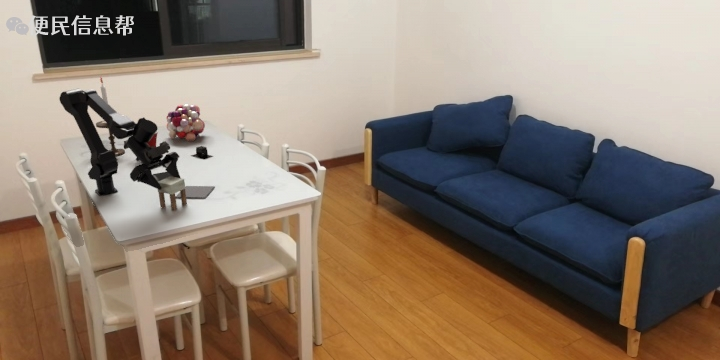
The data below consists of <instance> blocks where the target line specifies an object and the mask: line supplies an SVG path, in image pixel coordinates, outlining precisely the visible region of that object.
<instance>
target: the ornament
mask: <svg viewBox="0 0 720 360" xmlns="http://www.w3.org/2000/svg"><path fill="white" fill-rule="evenodd" d="M200 111H201V110H200V107H199V106H198V105H196V104H192V105H190V104H189V103H186V104H184V105H183V104H179V105H177V106H176V108H175V110H174V111H169V112H168V113H167V116H166V122H167V124H166V129H167V130H168V131H169V133H168V136H169V138H171V139H176V138H180V139H184V138H185V140H186V141H187V142H189V143H190V142H194V141H195V140H196V138H198V137H199V135H200V134H202V133H203V132H204V130H205V126H206V123H205V122H204V120H202V118H200V115H201V113H200Z"/></svg>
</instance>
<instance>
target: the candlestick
mask: <svg viewBox="0 0 720 360" xmlns="http://www.w3.org/2000/svg"><path fill="white" fill-rule="evenodd" d="M99 80H100V82H101V86H100V92H101V98H102V99H103V100H104V101H105V102H106V103H107V104H109V101H108V96H107V89H106V86H105V85H104V81H103V78H102V76H100V79H99ZM95 128H99V129H108V133H109V134H108V135H109V136H107V137H108V141H110V142H109V144H110V145H111V148H110V149H108V150H109V151H111V150H112V151H113V152H114V154H115V156H116V157H119V156H122V155H124V154H125V153H126V151H125V150H126V149H124V148H116V145H115V144H116V141H115V140H116V137H115V136H114V135H113V134H112V132H111V131H110V130H109V125H108V124H107V122H106V121H105V120H100V121H98V122H96V123H95Z"/></svg>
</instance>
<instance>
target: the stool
mask: <svg viewBox="0 0 720 360" xmlns="http://www.w3.org/2000/svg"><path fill="white" fill-rule="evenodd" d="M158 183H159V184H160V186H161V187H162V189H161V190H159V189H157V192H158V197H159V203H160V208H161V207H162V208H161V209H165V208H166V207H167V205H166V204H167V203H166V198H165V194H168V195H169V200H170V207H171V211H174V210H175V211H176V209H178V207H177V198H176V193H177V194H178V192H179V193H180V194H181V198H180V200H181V206H187V205H188V202H187V201H188V200H187V198H186V193H185V187H186V183H185V179H184V178H182V177H180V178H176V177H171V176H170V177H167V178H165V179H163V180H161V181H158ZM186 204H187V205H186ZM164 207H165V208H164Z"/></svg>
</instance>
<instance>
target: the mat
mask: <svg viewBox="0 0 720 360" xmlns="http://www.w3.org/2000/svg"><path fill="white" fill-rule="evenodd" d="M215 188H216V187H215V186H214V185H213V186H211V185H185V193H186V199H202V200H203V199H206V198H207V197H208V196H209V195H210V194H211V193H212V191H213V190H214V189H215ZM175 197H176V199H181V194H180V192H179V193H177V194H176V195H175Z"/></svg>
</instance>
